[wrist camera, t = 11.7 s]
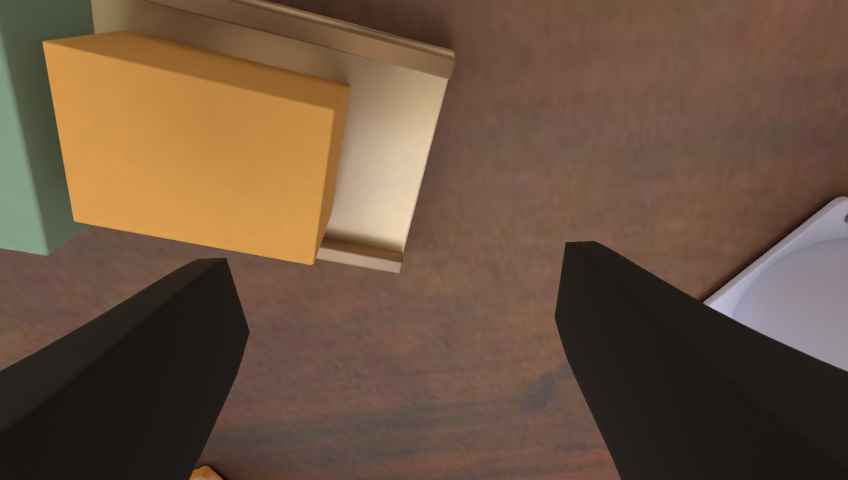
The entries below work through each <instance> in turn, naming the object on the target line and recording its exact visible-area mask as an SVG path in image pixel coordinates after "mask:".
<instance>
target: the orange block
mask: <svg viewBox="0 0 848 480" xmlns="http://www.w3.org/2000/svg"><path fill="white" fill-rule="evenodd" d="M43 48H44V54H45V59H46V65H47V71H48V76H49V82H50V88H51V94H52V99H53V105H54V111H55V116H56V122H57V128H58V133H59V139H60V145H61V150H62V156H63V162H64V167H65V173H66V179H67V185H68V190H69V196H70V202H71V207H72V213H73V219H74V221H75V222H80V223H85V224H91V225H96V226H102V227H107V228H113V229H118V230H123V231H129V232H134V233H140V234H145V235H151V236H156V237H162V238H167V239H173V240H178V241H184V242H189V243H194V244H200V245H205V246H211V247H216V248H222V249H227V250H233V251H238V252H244V253H249V254H255V255H260V256H265V257H271V258H276V259H282V260H287V261H293V262H298V263H304V264H309V265H313V264H314V262H315V259H316V256H317V253H318V250H319V248H320V245H321V242H322V239H323V236H324V233H325V231H326V228H327V225H328V222H329V219H330V216H331V211H332V205H333V198H334V192H335V185H336V179H337V172H338V166H339V159H340V153H341V146H342V140H343V133H344V127H345V120H346V114H347V108H348V101H349V95H350V88H351V87H350V85H348V84H343V83H339V82H335V81H331V80H327V79H323V78H319V77H315V76H311V75H307V74H303V73H299V72H295V71H291V70H287V69H282V68H278V67H274V66H270V65H266V64H262V63H258V62H254V61H250V60H246V59H242V58H238V57H234V56H230V55H226V54H221V53H217V52H213V51H209V50H205V49H201V48H197V47H193V46H189V45H185V44H181V43H177V42H173V41H169V40H165V39H161V38H156V37H152V36H148V35H144V34H140V33H136V32H132V31H128V30H123V31H116V32H108V33H100V34H93V35H85V36H77V37H70V38H62V39H54V40H47V41H43Z"/></svg>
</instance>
